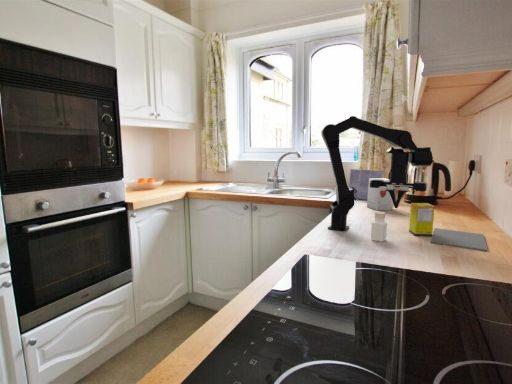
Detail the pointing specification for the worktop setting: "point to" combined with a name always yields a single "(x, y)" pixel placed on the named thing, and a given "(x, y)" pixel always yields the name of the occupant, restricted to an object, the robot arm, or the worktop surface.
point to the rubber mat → (459, 239)
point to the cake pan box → (362, 181)
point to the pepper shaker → (379, 227)
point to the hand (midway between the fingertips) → (396, 208)
